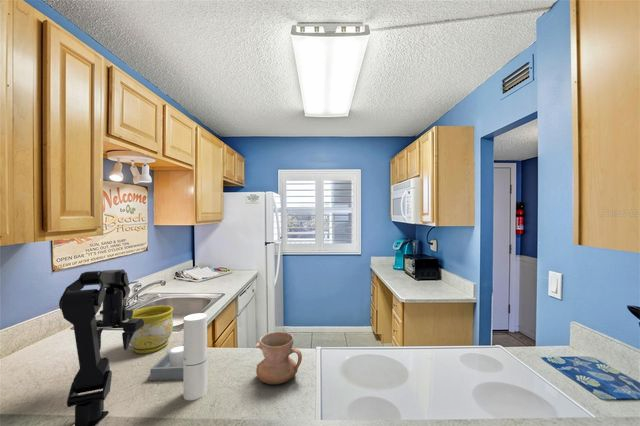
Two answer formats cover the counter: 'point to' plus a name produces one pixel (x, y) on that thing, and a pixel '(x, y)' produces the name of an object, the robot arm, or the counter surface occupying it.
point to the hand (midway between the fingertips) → (112, 350)
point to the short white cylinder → (176, 356)
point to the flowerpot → (152, 329)
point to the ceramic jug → (277, 358)
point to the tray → (165, 370)
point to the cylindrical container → (195, 356)
